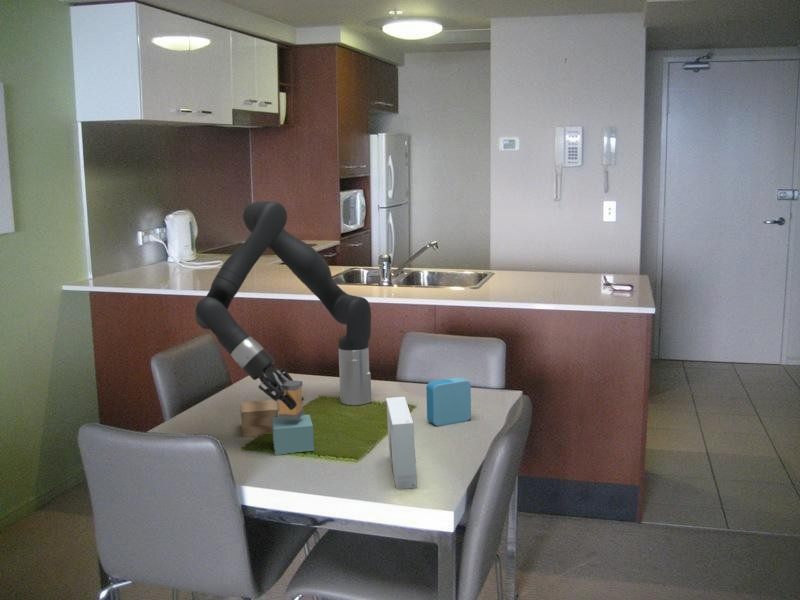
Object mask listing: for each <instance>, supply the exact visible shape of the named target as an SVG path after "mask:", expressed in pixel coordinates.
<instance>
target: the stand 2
mask: <svg viewBox="0 0 800 600" xmlns="http://www.w3.org/2000/svg"><path fill="white" fill-rule="evenodd" d="M272 430H273V434H272V441H273V442H272V443H273V444H274V445H273V450H275V451H274V455H275V456H282V454H285V455H288V454H287V453H294V452H303V451H314V452H315V443H314V440H315V439H314V425H313V421H312V419H311V415H310V414H303V415H302V416H301V417H300V418H299V419H297V420H292V419H279V416H278V417H273V418H272Z"/></svg>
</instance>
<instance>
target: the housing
mask: <svg viewBox="0 0 800 600" xmlns="http://www.w3.org/2000/svg"><path fill="white" fill-rule="evenodd" d="M277 386H278V385H277ZM281 386H282V389H283V390H284V391H285V392H286V393H287V394H288V395H289V396H290V397H291V398H292V399H293V400H294V401H295V402H296V403H297V406H296V407H295V408H294V409H293V410H290V409H289V408H288V407H287V406H286V405H285V404H284V403H283V402H282V401H279V400H278V404H279V405H278V406H279V408H278V410H279V413H278V417H279V419H292V420H297V419H299V418H300V417H301V416H302V415H305V411H304V408H303V401H302V397H303V392H302V391H303V390H302V389H303V388H302V387H303V380H293V381H291V380H288V381H283V382H282V385H281ZM279 391H280V390H279ZM280 392H281V391H280Z"/></svg>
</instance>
